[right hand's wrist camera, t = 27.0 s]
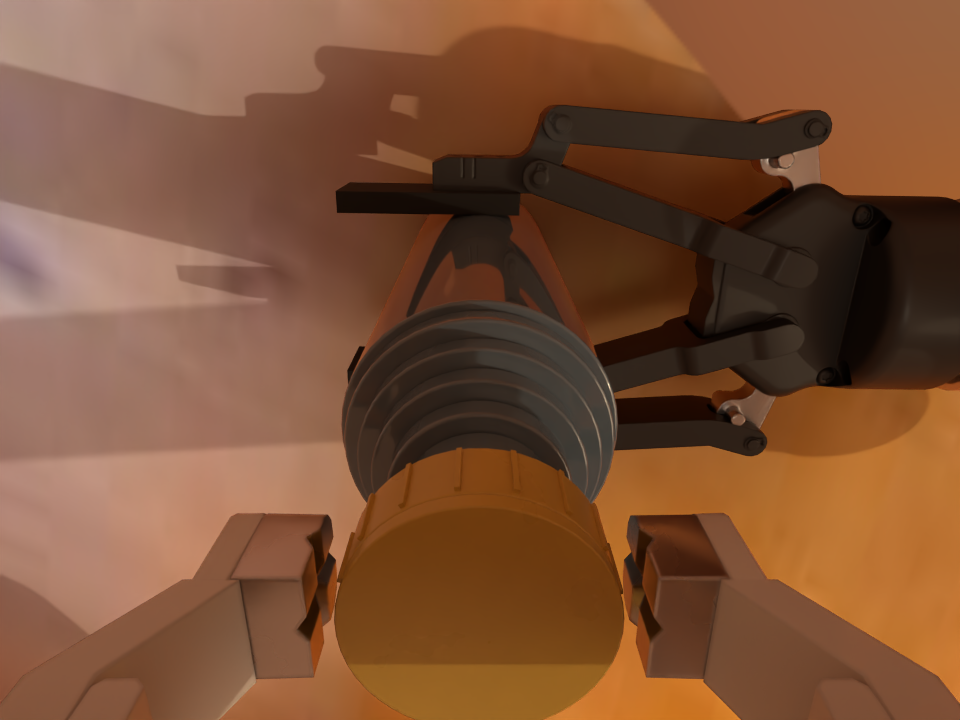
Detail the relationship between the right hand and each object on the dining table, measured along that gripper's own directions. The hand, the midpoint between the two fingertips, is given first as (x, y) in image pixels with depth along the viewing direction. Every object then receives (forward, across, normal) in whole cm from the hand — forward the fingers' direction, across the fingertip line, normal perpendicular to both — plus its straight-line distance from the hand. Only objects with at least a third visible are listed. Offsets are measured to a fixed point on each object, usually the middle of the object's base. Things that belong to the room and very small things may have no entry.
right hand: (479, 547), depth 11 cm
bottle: (+22, 0, 0) cm, 22 cm away
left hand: (+16, -5, 0) cm, 17 cm away
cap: (-1, 0, 0) cm, 1 cm away
